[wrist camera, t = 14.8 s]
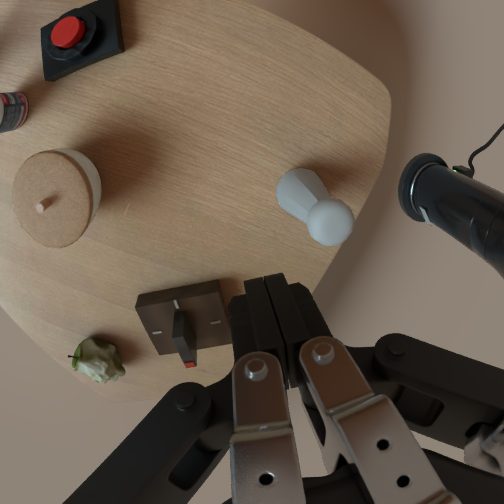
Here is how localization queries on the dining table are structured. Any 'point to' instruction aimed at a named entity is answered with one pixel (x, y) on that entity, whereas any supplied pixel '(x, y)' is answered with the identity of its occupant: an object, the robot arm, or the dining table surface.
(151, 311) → the handle panel
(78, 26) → the red button
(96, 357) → the fruit
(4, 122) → the pill bottle
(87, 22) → the button block
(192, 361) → the handle
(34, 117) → the dining table surface
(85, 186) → the trinket box
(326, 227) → the salt shaker
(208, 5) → the dining table surface
